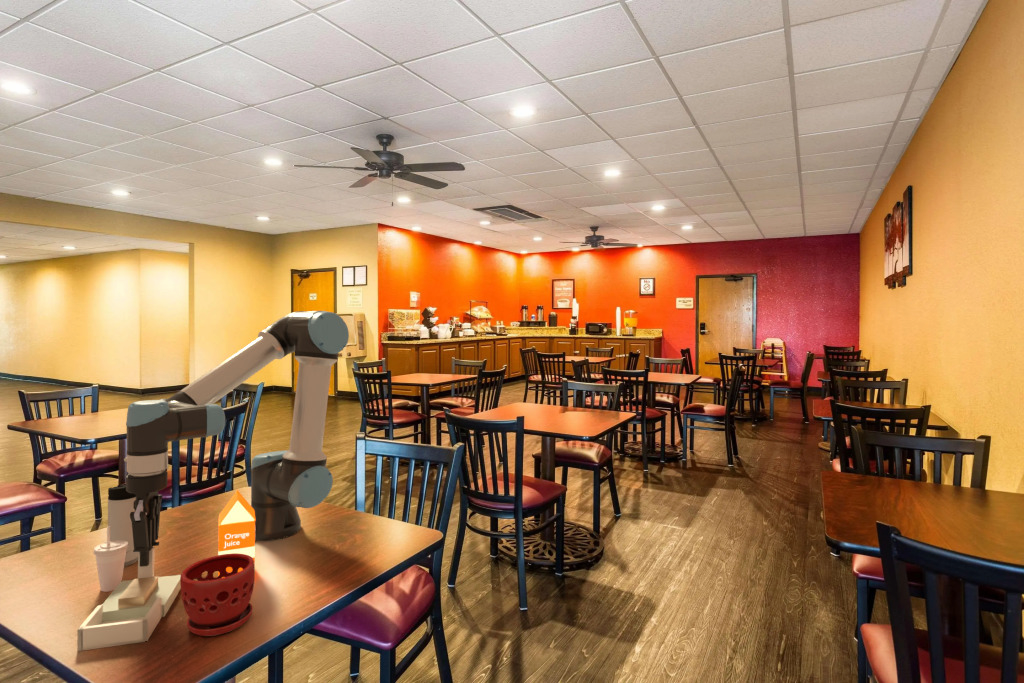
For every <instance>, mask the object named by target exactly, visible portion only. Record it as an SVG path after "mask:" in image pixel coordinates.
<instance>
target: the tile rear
mask: <svg viewBox="0 0 1024 683" xmlns="http://www.w3.org/2000/svg"><path fill="white" fill-rule="evenodd" d="M158 577H159V576H158V575H157V576H154V577H148V578H138V577H137V578H134V579H132V580H133V581H132V582H131V584H130V585H129V586H128V587H127V588H137V587H146V586H152V593H153V592H154V591H155V589H156V588H157V586H158Z"/></svg>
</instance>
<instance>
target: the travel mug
mask: <svg viewBox="0 0 1024 683" xmlns="http://www.w3.org/2000/svg"><path fill="white" fill-rule="evenodd" d="M107 495H108V496H107V527H108V526H110V541H116V540H123V541H127V542H128V546H129V547H128V548H127V549H126V556H125V562H124V568H125V567H128V566H132V565H133V564H135V563H138V552H133V550H134V543H133V532H132V522H131V519H130V513H131V512H135V509H134V501H135V500H136V495H135V494H134V493H129V492H127V491H126V483H121V484H118V485H116V486H112V487H109V488H108V489H107Z"/></svg>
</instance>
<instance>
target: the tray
mask: <svg viewBox="0 0 1024 683" xmlns="http://www.w3.org/2000/svg"><path fill="white" fill-rule="evenodd" d="M162 618H163V617H162V598H157V599H156V601H155V603H154V604H153V606H152V607H151V609H150V610H149V612H148V613H147V615H146V616H145V617H139V618H131V619H123V620H115V621H107V622H103V605H102V604H98V605H97V606H96V607H95V608H94V609H93V610H92V612H91V613H90V614H89V615H88V616H87V618H86V619H85V620H84V621H83V623H82V624H81V625H80V626H79V627H78V628H77V631H76V632H77V634H76V635H77V641H76V642H77V643H76V644H77V646H76V648H77V652H80V651H81V652H82V651H89V650H97V649H102V648H103V649H105V648H109V647H110V648H111V647H117V646H123V645H124V646H125V645H132V644H138V643H146V642H145V641H147V642H148V641H149V639H150V637H151V636H152V634H153V632H154V631H155V629H156V628H157V625H158V624H159V623H160V621H161V619H162Z"/></svg>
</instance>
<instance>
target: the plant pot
mask: <svg viewBox="0 0 1024 683" xmlns="http://www.w3.org/2000/svg"><path fill="white" fill-rule="evenodd" d="M227 567H232V572H227V571H226V568H227ZM255 567H256V566H254V560H253V558H252V557H251V556H249V555H246V554H238V553H233V554H223V555H218V554H217V555H213V556H210V557H206V558H203V559H201V560H198V561H196V562H194V563H191V564H190V565H189V566H187V567H186V568H185V569H183V571H182V572H181V574H180V575H181V577H180V585H181V589H180V593H181V601H182V605H183V607H184V610H185V612H186V614H187V616H188V619H187V622H186V626H187V629H188V630H189V631H190V632H191V633H192V634H194V635H197V636H202V637H215V636H218V635H219V636H220V635H222V634H225V633H229V632H231V631H234V630H236V629H238V628H240V627H241V626H242V625H244V624H245V623H246V622H248V620H249V619H250V618H251V616H252V614H253V605H252V604H251V603H250V601H251V599H252V596H253V592H254V586H255V580H256V579H255V578H256V577H255V574H256V572H255V571H256V570H255ZM239 568H242V569H243V570H242V571H240V572H238V569H239ZM218 571H219V573H220V574H219V576H218V575H217V576H214V573H215V572H218ZM205 572H207V574H206V575H205V576H204V577H203V576H202V575H203V573H205ZM222 577H224V578H222Z"/></svg>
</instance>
